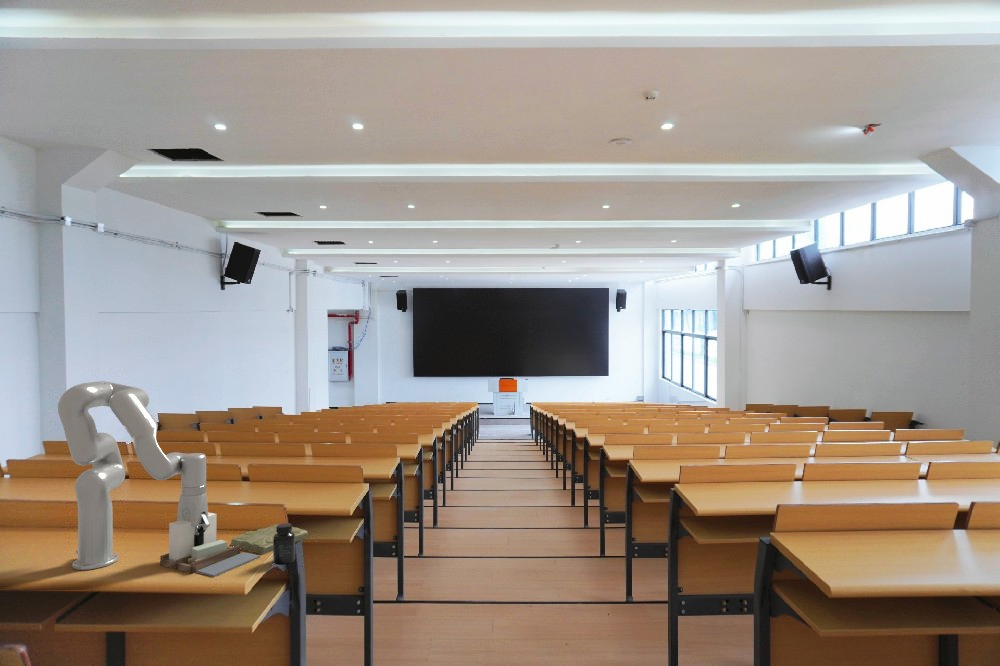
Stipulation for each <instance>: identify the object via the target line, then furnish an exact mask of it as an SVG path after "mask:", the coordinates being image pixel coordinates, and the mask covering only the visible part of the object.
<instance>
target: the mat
mask: <svg viewBox="0 0 1000 666" xmlns="http://www.w3.org/2000/svg"><path fill="white" fill-rule="evenodd" d="M260 558H261V555H260V554H259V555H258V554H253V553H250V552H244V551H243V552H240V554H238V555H235V556H233V557H230V558H228V559H225V560H223V561H220V562H218V563H215V564H212V565H210V566H207V567H205V568H202V569H200V570H197V572H196V574H200V575H204V576H209V577H212V578H215V577H217V576H219V575H222V574H225V573H227V572H229V571H231V570H234V569H236V568H238V567H241V566H244V565H245V564H249V563H250V562H253V561H255V559H256V560H258V559H260Z"/></svg>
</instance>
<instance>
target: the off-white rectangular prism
mask: <svg viewBox="0 0 1000 666" xmlns="http://www.w3.org/2000/svg"><path fill="white" fill-rule="evenodd" d="M217 517H218V516H217V513H214V512H209V511H208V522H209V524H210V526H209V527H208V528H207V529H206V530H205V533H204V544H207V543H211V542H215V541H217V524H218V523H217V521H218V520H217V519H218V518H217ZM200 524H201V522H200ZM168 527H169V529H168V553H169V560H173V561H176V560H178V559H180V558H183V557H186V556H189V555H191V548H193V547H195V546H194V535H196V533H195V527H192V526H191V522H189V521H184V520H179V521H177V520H174V521H173V522H168ZM198 528H199V529H200V528H201V526H199V527H198ZM204 544H203V545H204Z"/></svg>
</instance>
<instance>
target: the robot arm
mask: <svg viewBox="0 0 1000 666" xmlns="http://www.w3.org/2000/svg"><path fill="white" fill-rule="evenodd" d="M149 402H150V398H149V395H148V393H147V392H146V391H145V390H144V389H142V388H139V387H134V386H131V385H124V384H120V383H115V382H110V381H104V380H103V381H102V380H101V381H93V382H83V383H79V384H76V385H73V386H72V387H70V388H69V389H67V390H66V391H65V392H63V394H62V395H61V396H60V398H59V401H58V404H57V413H58V416H59V419H60V422H61V424H62V426H63V432H64V435H65V438H66V443H67V447H68V450H69V453H70V456H71V459H72V461H73V462H74V463H75V464H76V465H78V466H88V465H92V467H91V468H89V469H87V470H85V471H83V472H81V474H80V475H78V477H77V478H76V480H75V483H74V493H75V497H76V503H77V550H75V551H74V552H75V554H76V555H77V559H76V560H74V561H73V562H72V565H71V567H72V569H74V570H79V571H80V570H82V571H84V570H85V571H86V570H94V569H100V568H103V567H106V566H110V565H112V564H113V563H115V562H117V561H118V560H119V555H118V553H115V552H114V551H113V550H114V548H113V547H114V546H113V545H114V544H113V543H114V541H113V539H114V536H113V531H114V529H113V528H114V524H113V523H114V522H113V521H114V520H113V519H114V517H113V516H114V515H113V514H114V513H113V510H114V509H113V502H112V498H111V495H110V492H111V491H112V490H116V489H117V488H118V487H120V486H121V485H122V484H123V482H124V480H125V478H126V468H125V465H124V462H123V458H122V454H121V452H120V448H119V445H118V442H117V440H116V438H115V437H114V436H112V435H111V434H109V433H107V432H99V431H98V430H97V426H96V423H95V420H94V418H93V417H92V415H91V414H90V412H89V410H90V409H91V408H97V407H109V408H110V410H111V412H112V413H113V414H114V415H115V417H116V418H117V420H118V421H119V422H120V423H121V425H122V426H123V427H124V429H125V430H126V432H127V433H128V434H129V436H130V437H131V438H132V443H133V448H134V450H135V451H134V452H135V455H136V457H137V460H138V462H139V463H140V464H141V466H142V467H143V468H144V470H145V471H146V473H148V475H149V476H150V477H151V478H153V479H155V480H157V481H165V480H168V479H170V478H172V477H174V476H176V475H180V474H181V478H180V479H181V481H180V482H181V483H180V485H181V487H180V488H181V493H180V494H179V499H178V504H177V506H178V507H177V520H176V521H179V520H184V521H189V522H191V526H192V527H195V533H196V535H194V546H195V547H197V546H200V545H203V544H204V533H205V530H206V529H207V528H208V527H209V526H210V524H209V522H208V512H209V506H208V505H209V504H208V497H207V496H208V495H207V456H206V454H205V453H202V452H192V453H185V452H184V453H183V452H178V451H177V452H176V451H175V452H169V453H168V454H165V453H164V452H163V451H162V449H161V447H160V446H159V443H158V441H157V431H158V427H159V423H158V422H157V421H156V419H155V418H154V417H153V415H152V414H151V412H150V411H149V410H148V409H147V407H148V405H149ZM200 522H201V524H200ZM199 526H201V528H200V529H199V528H198V527H199Z"/></svg>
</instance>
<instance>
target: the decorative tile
mask: <svg viewBox="0 0 1000 666" xmlns="http://www.w3.org/2000/svg"><path fill="white" fill-rule="evenodd" d="M277 525H279V523H278V524H273V525H271V526H268V527H266V528H259V529H256V530H250V531H246V532H245V533H242V534H239V535H238V536H236V537H233V538H232V539H231V541H230V547H233V546H234V547H235V546H238V545H239V546H240V548H241V549H240V550H244V549H245V550H244V551H248V550H250V551H249V552H252V551H253V553H256V554H261V553H262V554H261V555H266V554H268V553H270V552H273V537H274V535H275V534H276V533H277V532H276V527H277ZM292 532H293V533H294V534H295V543H297V542H298V541H301V540H304V539H306V538H309V537H308V536H309V532H308V530H305V529H301V528H299V527H294V526H292Z"/></svg>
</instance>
